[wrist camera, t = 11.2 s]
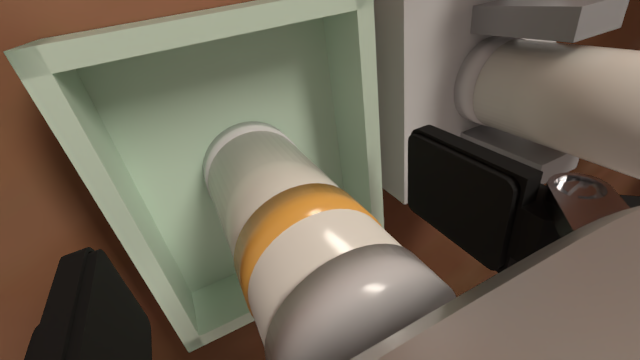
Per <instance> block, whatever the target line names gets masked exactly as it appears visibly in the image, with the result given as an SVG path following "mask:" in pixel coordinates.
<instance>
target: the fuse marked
mask: <svg viewBox="0 0 640 360" xmlns="http://www.w3.org/2000/svg"><path fill="white" fill-rule="evenodd" d="M203 177H204V180H205V184H206V186H207V189H208V192H209V195H210V197H211V199H212V201H213V202H214V205H215V208H216V211H217V214H218V217H219V219H220V222H221V225H222V228H223V231H224V234H225V237H226V239H227V242H228V245H229V248H230V251H231V254H232V257H233V259H234V268H235V271H236V274H237V277H238V280H239V283H240V286H241V289H242V292H243V295H244V298H245V301H246V304H247V307H248V309H249V311H250V313H251V315H252V317H253V318H254V319H255V322H256V325H257V328H258V331H259V334H260V337H261V340H262V342H263V345H264V349H265V358H266V360H350V359H352V358H354V357H355V356H357V355H359V354H361V353H362V352H364V351H366V350H367V349H369V348H371V347H372V346H374V345H376V344H378V343H379V342H381V341H383V340H384V339H386V338H388V337H390V336H391V335H393V334H395V333H396V332H398V331H400V330H402V329H403V328H405V327H407V326H408V325H410V324H412V323H414V322H415V321H417V320H419V319H420V318H422V317H424V316H426V315H427V314H429V313H431V312H432V311H434V310H436V309H438V308H439V307H441V306H443V305H445V304H446V303H448V302H450V301H451V300H453V299H455V298H456V295H455V293H454V292H453V290H452V289H451V288H450V287H449V286H448V285H447V284H446V283H445V282H444V281H443V280H442V279H440V278H439V277H438V276H437V275H436V274H435V273H434V272H433V271H432V270H431V269H430V268H429V267H427V266H426V265H425V264H424V263H423V262H422V261H421V260H420V259H419V258H418V257H417V256H416V255H414V254H413V253H412V252H411V251H410V250H408V249H406V248H404V247H402V246H401V245H400V244H399V243H398V242H397V241H396V240H395V239H394V238H393V237H392V236H391V235H390V234H389V233H387V232H386V231H385V230H384V229H383V228H382V226H381V224H380V223H379V222H378V221H377V219H376V218H374V217H373V216H372V215H371V214H370V213H369V212H368V211H367V210H366V209H365V208H364V207H363V206H361V205H360V204H359V203H358V202H357V201H356V200H355V199H354V198H353V197H352V196H351V195H349V194H348V193H347V192H346V191H344V190H343V189H341V188H339V187H338V186H337V185H336V184H335V183H334V182H333V181H332V180H331V179H330V178H329V177H328V176H327V175H326V174H324V173H323V172H322V171H321V170H320V169H319V168H318V167H317V166H316V165H315V164H314V163H313V162H312V161H311V160H309V159H308V158H307V157H306V156H305V155H304V154H303V153H302V152H301V151H300V150H299V149H298V148H297V147H296V145H295V144H294V143H293V142H292V141H291V140H290V139H289V138H288V137H287V136H286V135H285V134H284V133H282V132H281V131H280V130H279V129H277V128H276V127H274V126H272V125H270V124H267V123H263V122H256V121H250V122H243V123H238V124H236V125H233V126H231V127H229V128H227V129H225V130H224V131H222V132H221V133H220V134H219V135H218V136H216V137H215V139H214V140H213V141H212V142H211V144H210V145H209V147H208V149H207V151H206V153H205V156H204V159H203Z"/></svg>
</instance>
